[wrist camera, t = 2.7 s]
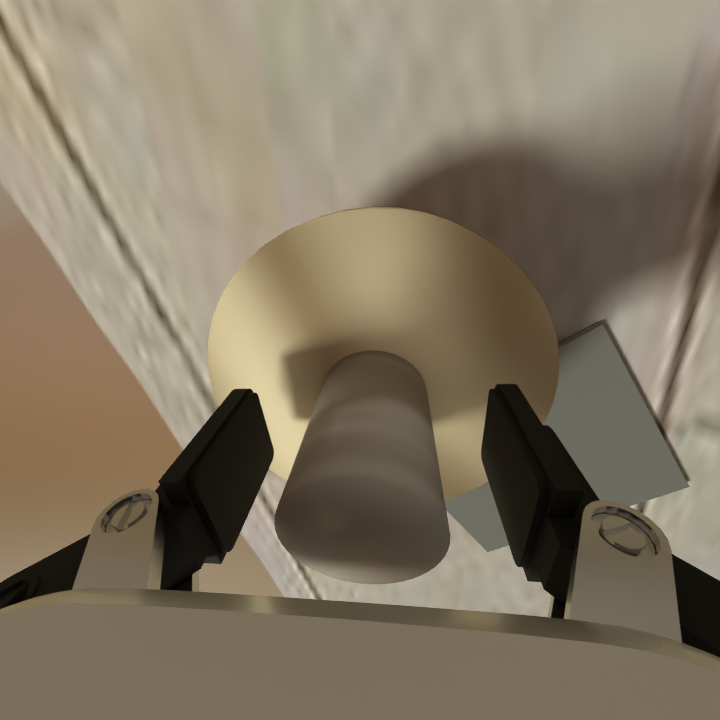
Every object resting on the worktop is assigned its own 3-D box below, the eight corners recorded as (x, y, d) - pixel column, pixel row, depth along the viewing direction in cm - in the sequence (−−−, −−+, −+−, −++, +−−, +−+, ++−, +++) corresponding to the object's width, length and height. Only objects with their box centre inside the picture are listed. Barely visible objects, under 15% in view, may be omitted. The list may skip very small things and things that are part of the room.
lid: (414, 98, 8) (456, -108, 3) (601, 409, 13) (782, 599, 7) (163, 353, 13) (-19, 480, 7) (357, 517, 17) (338, 683, 12)
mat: (598, 321, 17) (603, 324, 16) (684, 481, 22) (689, 486, 21) (380, 440, 22) (380, 444, 22) (486, 547, 27) (487, 551, 27)
